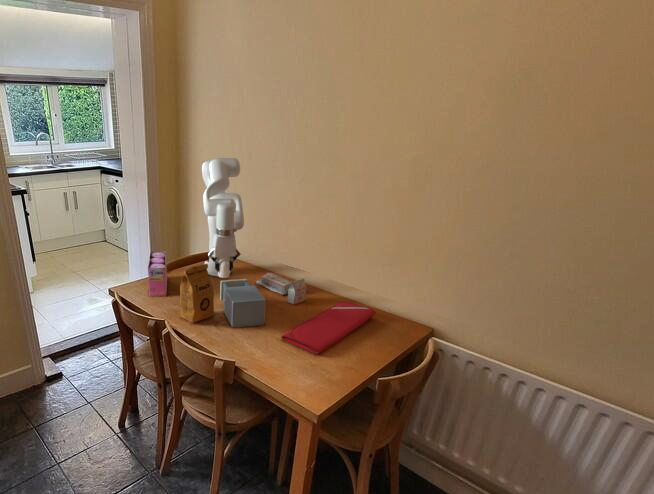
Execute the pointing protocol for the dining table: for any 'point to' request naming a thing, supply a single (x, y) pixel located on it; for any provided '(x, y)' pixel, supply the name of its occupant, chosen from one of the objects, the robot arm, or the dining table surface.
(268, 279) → the packaged product
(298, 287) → the small milk carton
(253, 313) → the blue-grey box
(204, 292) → the coffee package
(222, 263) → the capsule
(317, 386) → the dining table surface
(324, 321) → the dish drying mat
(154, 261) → the gum box
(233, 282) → the tray
